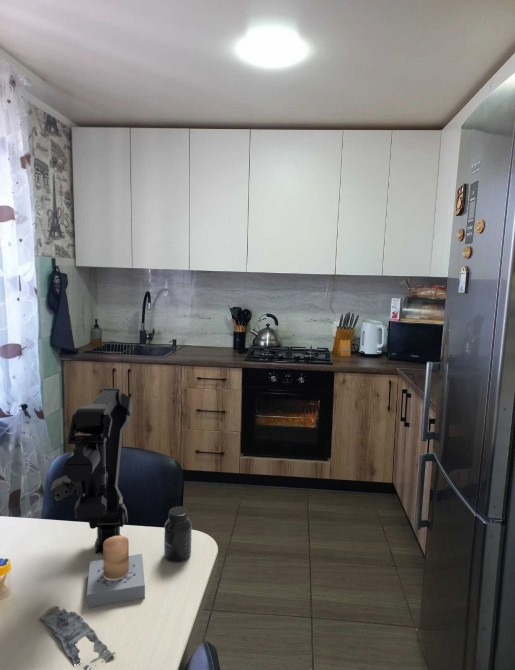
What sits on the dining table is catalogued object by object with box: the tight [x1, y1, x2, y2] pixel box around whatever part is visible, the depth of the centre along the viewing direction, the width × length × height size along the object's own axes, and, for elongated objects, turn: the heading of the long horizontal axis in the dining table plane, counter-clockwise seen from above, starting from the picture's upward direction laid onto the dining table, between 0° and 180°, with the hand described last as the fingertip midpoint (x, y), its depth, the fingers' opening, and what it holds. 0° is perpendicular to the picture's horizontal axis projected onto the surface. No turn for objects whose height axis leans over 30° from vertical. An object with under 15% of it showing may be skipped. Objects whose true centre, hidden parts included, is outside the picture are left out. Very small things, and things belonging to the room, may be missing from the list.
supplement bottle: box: [163, 506, 193, 563], centre depth 115 cm, size 7×7×12 cm
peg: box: [102, 535, 130, 581], centre depth 103 cm, size 6×6×10 cm
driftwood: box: [38, 605, 117, 670], centre depth 88 cm, size 21×7×2 cm, turn 46°
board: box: [86, 553, 146, 609], centre depth 103 cm, size 12×12×3 cm
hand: (93, 527), depth 103 cm, fingers closed
